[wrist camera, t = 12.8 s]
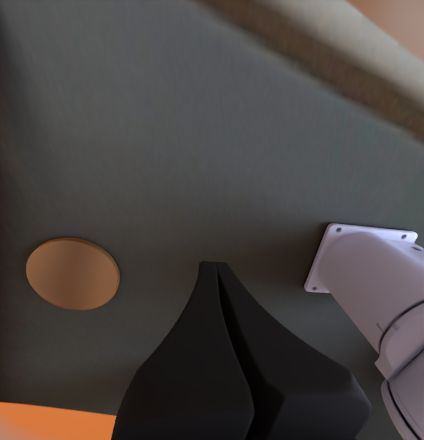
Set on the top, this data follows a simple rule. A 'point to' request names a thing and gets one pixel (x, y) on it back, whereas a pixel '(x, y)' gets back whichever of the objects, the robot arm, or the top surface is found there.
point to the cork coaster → (73, 273)
